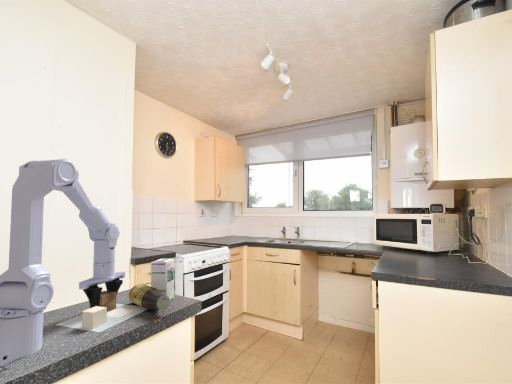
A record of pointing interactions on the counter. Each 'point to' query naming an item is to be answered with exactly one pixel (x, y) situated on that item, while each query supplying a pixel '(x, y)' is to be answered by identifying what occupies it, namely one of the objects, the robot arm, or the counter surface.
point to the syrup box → (164, 276)
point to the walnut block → (108, 300)
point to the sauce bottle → (148, 297)
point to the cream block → (94, 317)
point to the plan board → (113, 318)
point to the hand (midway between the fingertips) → (103, 307)
